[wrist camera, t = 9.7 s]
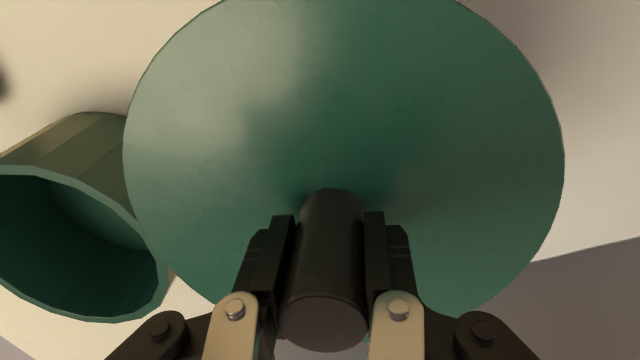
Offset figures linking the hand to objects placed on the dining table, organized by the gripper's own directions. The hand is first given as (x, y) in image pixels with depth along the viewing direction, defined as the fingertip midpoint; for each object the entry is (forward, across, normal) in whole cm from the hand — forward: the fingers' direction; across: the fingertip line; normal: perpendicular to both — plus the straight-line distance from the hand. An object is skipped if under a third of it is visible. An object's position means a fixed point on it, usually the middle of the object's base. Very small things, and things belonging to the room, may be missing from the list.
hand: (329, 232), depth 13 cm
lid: (+2, 0, 0) cm, 2 cm away
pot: (+16, +21, +8) cm, 28 cm away
